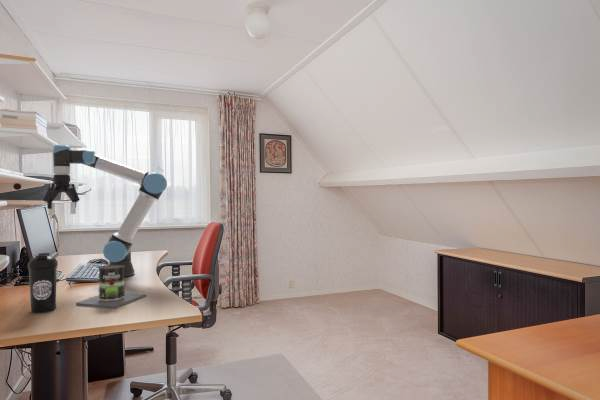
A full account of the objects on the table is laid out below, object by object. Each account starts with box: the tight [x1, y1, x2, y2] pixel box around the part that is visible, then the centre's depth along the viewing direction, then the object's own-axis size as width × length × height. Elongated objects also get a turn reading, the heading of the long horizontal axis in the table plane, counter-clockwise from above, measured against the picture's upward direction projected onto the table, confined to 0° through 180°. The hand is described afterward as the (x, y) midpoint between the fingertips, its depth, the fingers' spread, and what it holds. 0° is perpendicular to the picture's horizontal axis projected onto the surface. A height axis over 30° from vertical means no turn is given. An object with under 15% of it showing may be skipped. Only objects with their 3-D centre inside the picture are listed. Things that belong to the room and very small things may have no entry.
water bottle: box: [27, 252, 59, 314], centre depth 158 cm, size 10×10×23 cm
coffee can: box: [98, 264, 125, 301], centre depth 172 cm, size 10×10×14 cm
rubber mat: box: [75, 291, 147, 309], centre depth 172 cm, size 20×20×1 cm
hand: (62, 214), depth 206 cm, fingers open, 13 cm apart
